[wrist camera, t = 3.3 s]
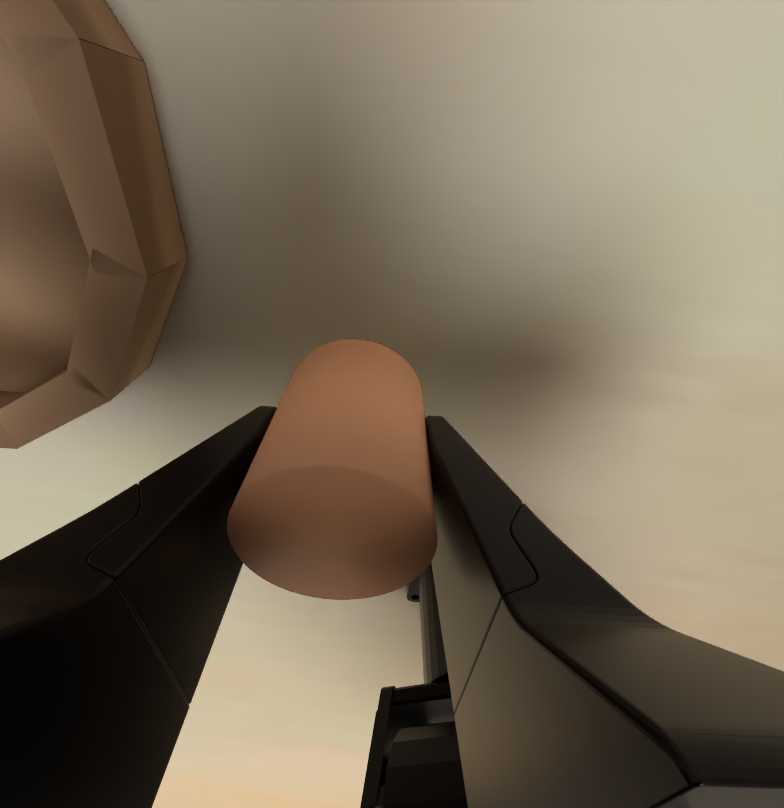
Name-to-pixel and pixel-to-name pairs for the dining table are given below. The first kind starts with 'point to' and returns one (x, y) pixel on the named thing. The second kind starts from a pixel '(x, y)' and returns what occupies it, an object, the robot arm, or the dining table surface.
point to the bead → (341, 479)
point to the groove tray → (78, 215)
